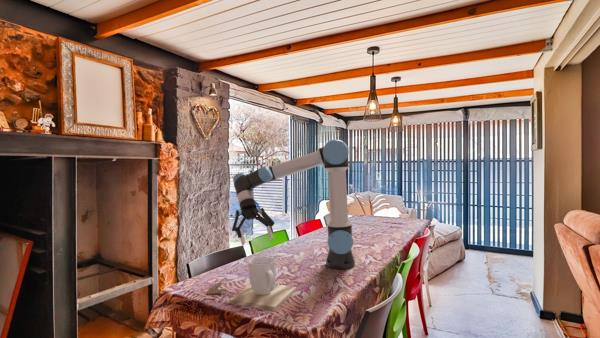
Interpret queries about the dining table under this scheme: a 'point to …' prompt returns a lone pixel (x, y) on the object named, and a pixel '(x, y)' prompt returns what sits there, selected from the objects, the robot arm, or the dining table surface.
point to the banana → (214, 288)
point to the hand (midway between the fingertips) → (258, 241)
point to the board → (263, 297)
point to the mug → (262, 274)
